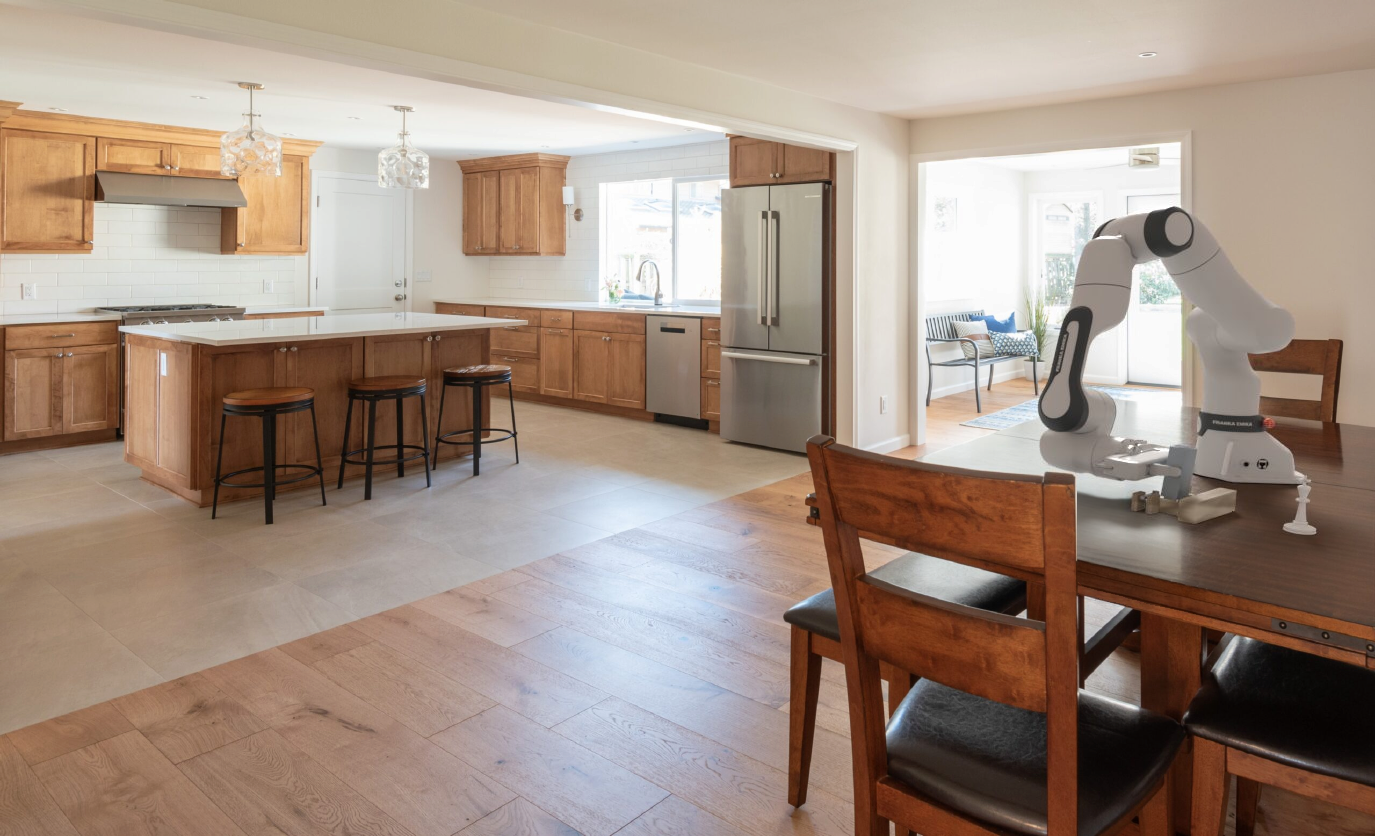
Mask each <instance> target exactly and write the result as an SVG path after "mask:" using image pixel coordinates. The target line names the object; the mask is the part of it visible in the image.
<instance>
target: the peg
mask: <svg viewBox="0 0 1375 836" xmlns="http://www.w3.org/2000/svg"><path fill="white" fill-rule="evenodd" d="M1169 447H1170V448H1169V453H1168V459H1167V464H1166V465H1167V466H1177V467H1181V468H1182V475H1181V476H1178V477H1173V476H1163V481H1162V485H1161V486H1162V487H1161V490H1160V497H1163V498H1164V497H1167V498H1171V499H1174V500H1175V501H1178V500H1180V499H1183V498H1186V497H1188V495H1189V490H1190V486H1192V485H1191V484H1192V479H1193V475H1194V473H1193V470H1194V465H1195V460H1196V455H1197V448H1196V446H1191V445H1186V444H1182V443H1177V444H1174V445H1170V446H1169Z"/></svg>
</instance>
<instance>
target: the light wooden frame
mask: <svg viewBox="0 0 1375 836" xmlns="http://www.w3.org/2000/svg"><path fill="white" fill-rule="evenodd" d="M1237 493H1238V492H1237V490H1236V489H1230V488H1224V487H1218V488H1214V489H1211V490H1207V491H1203V492H1201V493H1197V494H1193V493H1192V485H1190V490H1189V495H1188V497H1186V498H1183V499H1180V500H1174V499H1171V498H1167V497H1164V496H1163V497H1161V494H1160V493H1159V494H1152V495H1149V496H1147V499H1146V500H1142V499H1140V496H1142V495H1146V491H1144V490H1139V491H1135V492H1132V493H1131V494H1132V496H1131V507H1130V508H1131V509H1130V511H1134V512H1138V511H1142V510H1145V514H1148V515H1154V514H1156V513H1157V514H1158V513H1162V514H1169V515H1171V516H1172V515H1173V516H1177V521H1179V522H1183V523H1186V524H1188V523H1189V524H1192V525H1196V524H1199V523H1202V522H1205V521H1207V520H1211V519H1214V518H1217V517H1219V516H1223V515H1227V514H1229V513H1233V512H1235V510H1236V502H1237V501H1236V500H1237ZM1145 502H1146V503H1145ZM1232 511H1233V512H1232ZM1153 513H1154V514H1153Z"/></svg>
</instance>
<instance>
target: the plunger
mask: <svg viewBox="0 0 1375 836" xmlns="http://www.w3.org/2000/svg"><path fill="white" fill-rule="evenodd" d="M1152 494H1159V495H1160V491H1159V490H1152V491H1151V492H1150V493H1147V494H1145V495H1142V496H1140V499H1142V500H1145V501H1147V496H1149V495H1152Z"/></svg>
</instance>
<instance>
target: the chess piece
mask: <svg viewBox="0 0 1375 836" xmlns="http://www.w3.org/2000/svg"><path fill="white" fill-rule="evenodd" d="M1299 482H1303V484H1298V485H1297V486H1296V487H1297V491H1298V495H1299V497H1296V498H1295V501H1296V502H1298V505H1297V506H1298V507H1297V511H1296V515H1295V518H1294V520H1292V522H1286V523H1284V524H1283V527H1282V530H1283V531H1285V532H1288V533H1292V534H1296V535H1305V536H1306V535H1307V536H1312V535H1315V534H1317V528H1316V527H1314V526H1313V525H1310V524H1309V522H1308V521H1307V507H1306V506H1307V503H1310V502H1311V500H1310V499H1309V498H1308V495H1309V493H1310V492H1311V489H1312V487H1311V486H1309V485H1307V483H1310V484H1311V483H1312V479H1308V475H1304V479H1299Z"/></svg>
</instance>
